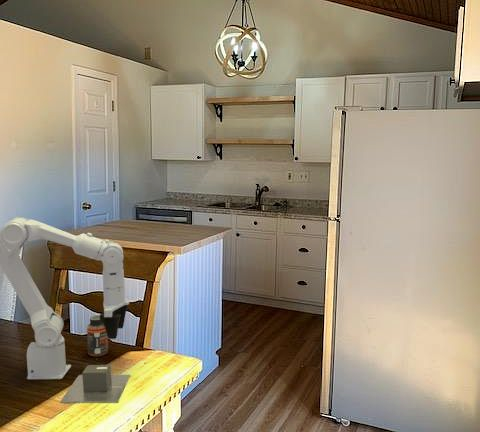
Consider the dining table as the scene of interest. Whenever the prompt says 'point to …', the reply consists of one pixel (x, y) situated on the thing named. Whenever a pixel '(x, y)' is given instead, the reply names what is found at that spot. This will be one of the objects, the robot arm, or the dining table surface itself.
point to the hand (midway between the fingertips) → (115, 333)
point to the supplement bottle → (97, 337)
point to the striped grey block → (96, 378)
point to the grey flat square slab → (109, 396)
